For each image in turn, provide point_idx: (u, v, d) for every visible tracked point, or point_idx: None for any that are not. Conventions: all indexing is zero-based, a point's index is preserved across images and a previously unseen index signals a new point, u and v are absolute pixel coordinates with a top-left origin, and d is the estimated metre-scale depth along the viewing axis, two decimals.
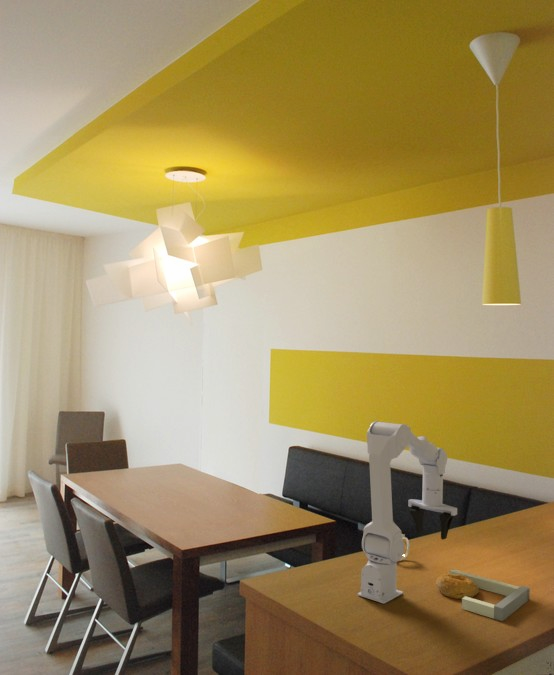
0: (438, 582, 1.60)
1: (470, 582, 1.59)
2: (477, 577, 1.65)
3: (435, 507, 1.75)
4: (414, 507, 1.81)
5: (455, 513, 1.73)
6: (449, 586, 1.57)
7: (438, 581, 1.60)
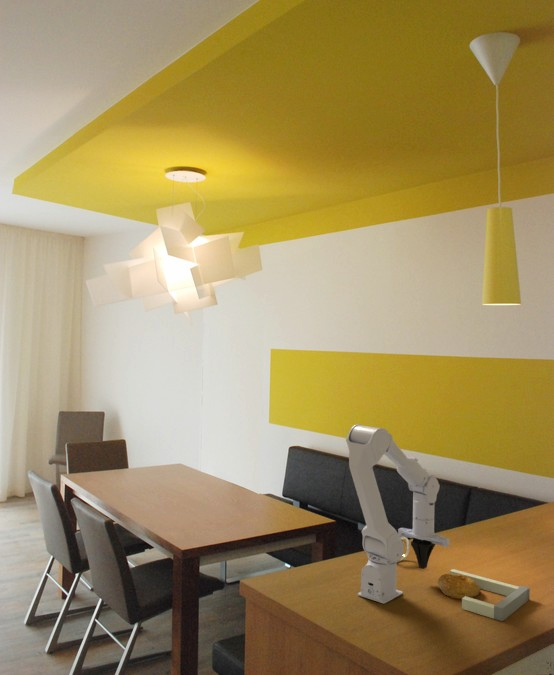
0: (440, 582, 1.60)
1: (472, 582, 1.59)
2: (477, 577, 1.65)
3: (426, 538, 1.65)
4: None
5: (447, 545, 1.63)
6: (450, 586, 1.57)
7: (440, 581, 1.60)
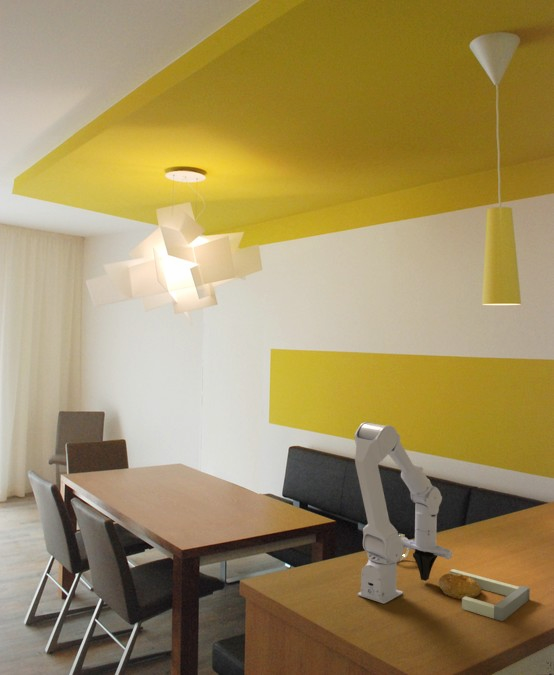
0: (441, 582, 1.60)
1: (473, 582, 1.59)
2: (477, 577, 1.65)
3: (428, 550, 1.64)
4: None
5: (449, 557, 1.62)
6: (451, 586, 1.57)
7: (441, 581, 1.60)
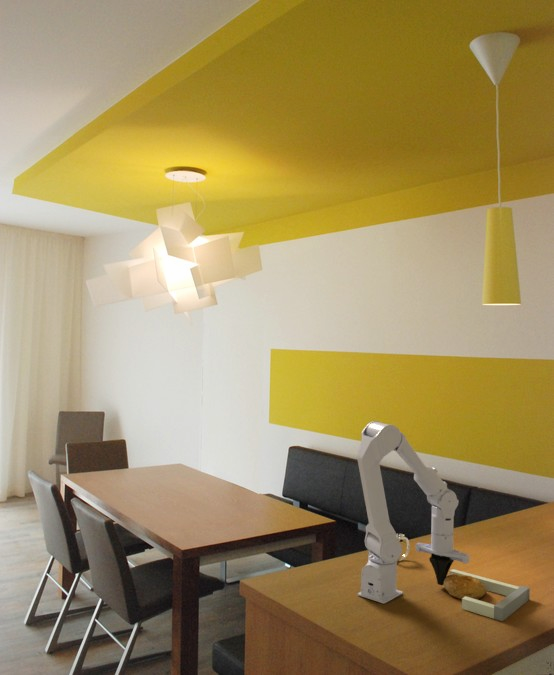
0: (446, 583, 1.59)
1: (478, 582, 1.59)
2: (477, 577, 1.65)
3: (445, 554, 1.61)
4: None
5: (467, 561, 1.59)
6: (457, 587, 1.56)
7: (446, 581, 1.59)
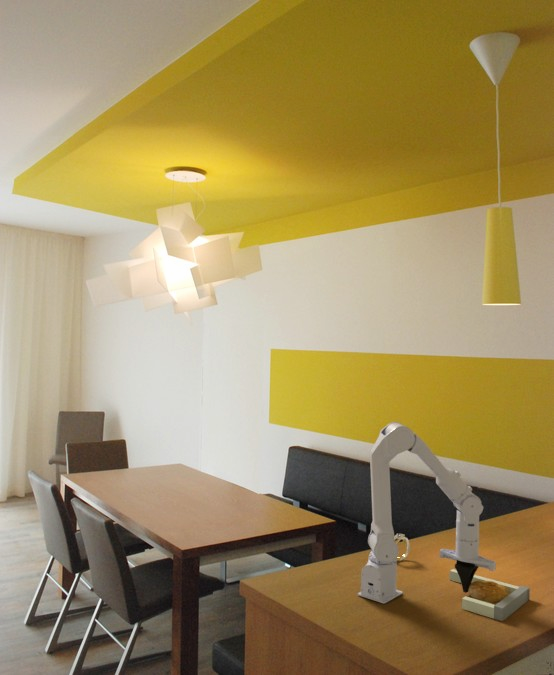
0: (473, 590, 1.54)
1: (504, 588, 1.55)
2: (477, 577, 1.65)
3: (471, 560, 1.56)
4: None
5: (493, 568, 1.54)
6: (486, 594, 1.52)
7: (473, 589, 1.55)
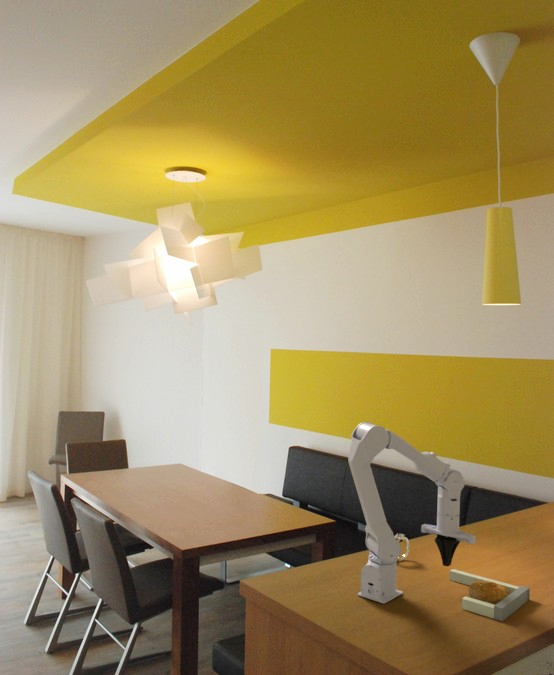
0: (473, 591, 1.54)
1: (504, 589, 1.55)
2: (477, 577, 1.65)
3: (451, 534, 1.60)
4: None
5: (473, 542, 1.58)
6: (486, 595, 1.52)
7: (473, 590, 1.55)
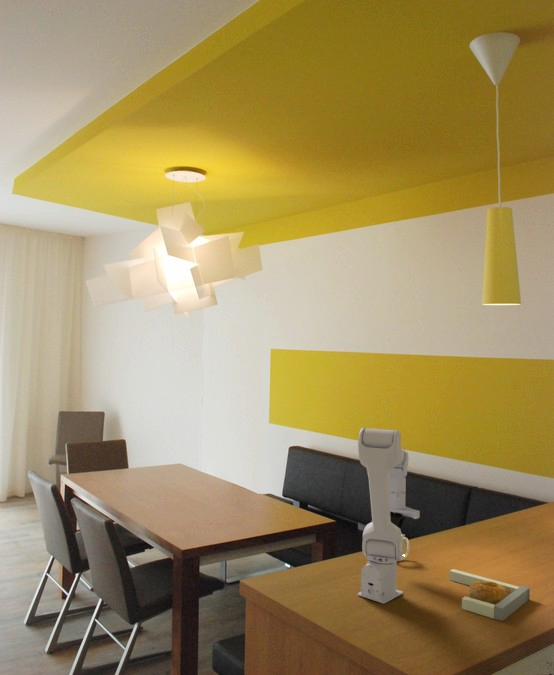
0: (473, 591, 1.55)
1: (504, 589, 1.55)
2: (477, 577, 1.65)
3: (397, 510, 1.72)
4: None
5: (417, 517, 1.70)
6: (487, 595, 1.52)
7: (473, 589, 1.55)
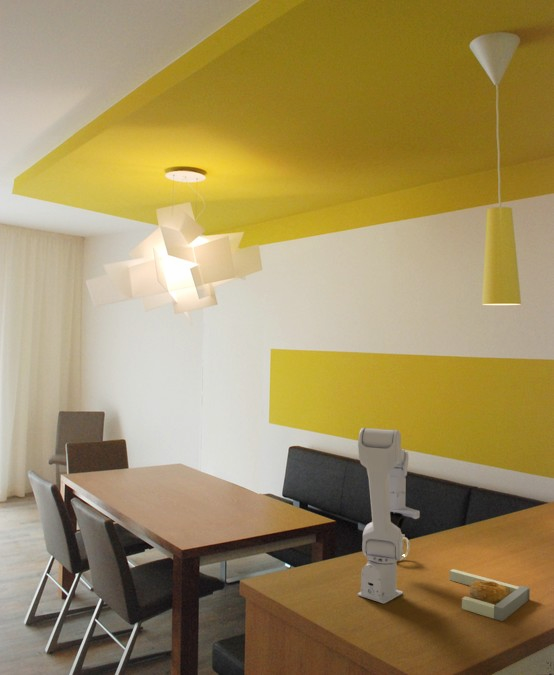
0: (474, 591, 1.55)
1: (505, 588, 1.55)
2: (477, 577, 1.65)
3: (397, 510, 1.72)
4: None
5: (417, 517, 1.70)
6: (487, 594, 1.52)
7: (474, 589, 1.55)
